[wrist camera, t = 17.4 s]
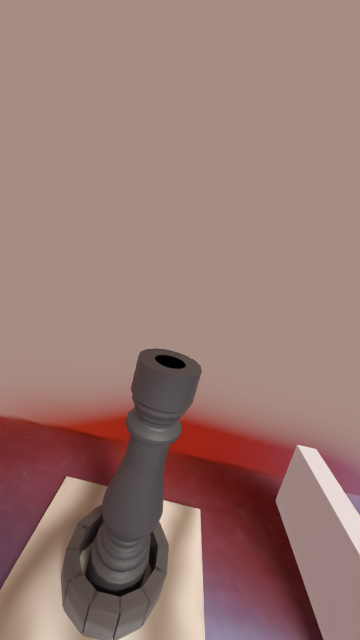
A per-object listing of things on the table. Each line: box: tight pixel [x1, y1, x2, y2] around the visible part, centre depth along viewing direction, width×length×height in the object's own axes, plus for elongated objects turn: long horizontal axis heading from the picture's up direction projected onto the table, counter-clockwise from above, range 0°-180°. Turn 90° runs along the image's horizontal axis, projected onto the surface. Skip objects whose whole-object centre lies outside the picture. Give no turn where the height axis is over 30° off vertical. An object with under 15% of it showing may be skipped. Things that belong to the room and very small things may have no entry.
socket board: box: [0, 476, 205, 640], centre depth 28 cm, size 20×20×5 cm
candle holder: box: [85, 349, 202, 597], centre depth 26 cm, size 6×6×25 cm
